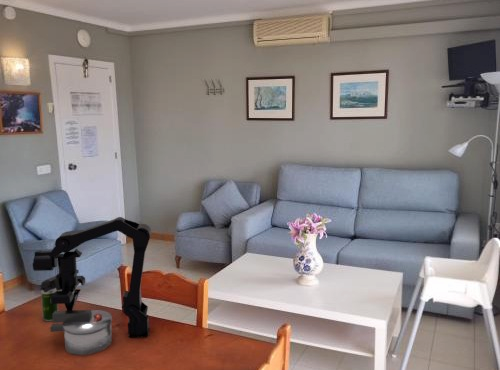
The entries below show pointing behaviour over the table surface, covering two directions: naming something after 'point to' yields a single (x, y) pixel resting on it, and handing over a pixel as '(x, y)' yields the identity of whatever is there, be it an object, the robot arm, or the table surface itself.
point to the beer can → (48, 305)
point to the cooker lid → (82, 320)
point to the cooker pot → (85, 340)
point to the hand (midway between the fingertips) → (70, 312)
